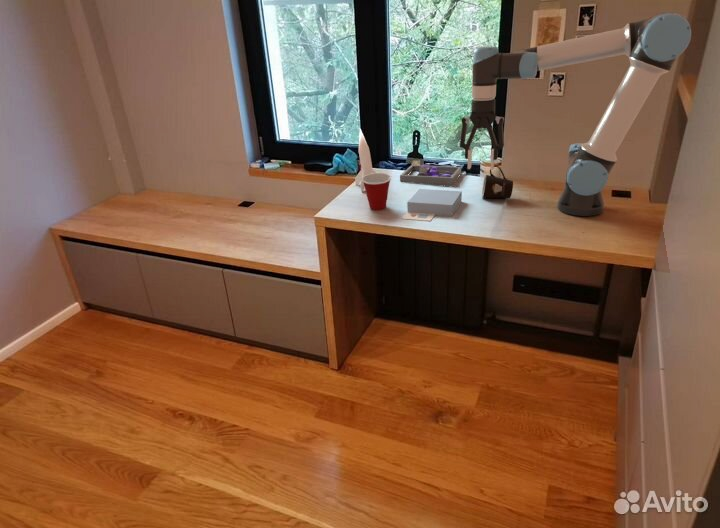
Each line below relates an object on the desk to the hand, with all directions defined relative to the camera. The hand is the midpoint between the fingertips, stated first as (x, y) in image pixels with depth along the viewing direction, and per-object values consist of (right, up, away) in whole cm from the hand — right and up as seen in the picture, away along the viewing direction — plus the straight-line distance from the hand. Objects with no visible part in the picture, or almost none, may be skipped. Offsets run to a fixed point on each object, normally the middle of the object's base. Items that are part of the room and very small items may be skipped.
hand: (480, 168), depth 178 cm
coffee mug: (+15, -4, +15) cm, 21 cm away
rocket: (-35, -3, +35) cm, 49 cm away
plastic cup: (-35, -12, +14) cm, 39 cm away
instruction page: (-21, -16, +4) cm, 26 cm away
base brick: (-14, -12, +12) cm, 22 cm away
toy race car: (-9, +2, +42) cm, 43 cm away
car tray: (-11, +3, +43) cm, 45 cm away
